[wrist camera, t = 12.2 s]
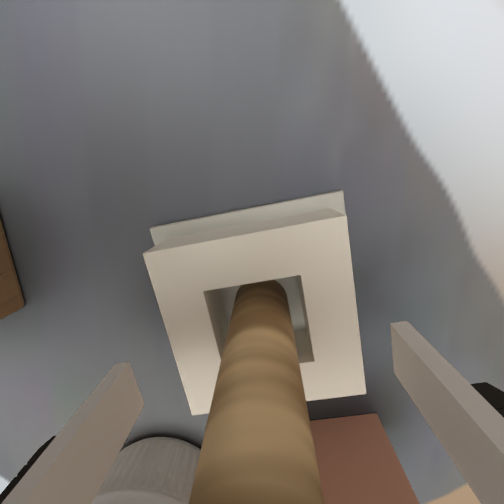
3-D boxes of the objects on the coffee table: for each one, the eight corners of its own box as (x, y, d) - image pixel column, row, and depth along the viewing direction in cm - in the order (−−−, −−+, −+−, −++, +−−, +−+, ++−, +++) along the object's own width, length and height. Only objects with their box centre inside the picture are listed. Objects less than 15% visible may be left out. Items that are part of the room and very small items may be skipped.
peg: (230, 281, 21) (167, 487, 7) (282, 272, 20) (318, 472, 7) (241, 327, 22) (204, 579, 8) (291, 319, 21) (336, 571, 8)
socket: (154, 226, 21) (121, 240, 16) (339, 190, 20) (363, 193, 15) (198, 378, 24) (182, 428, 20) (358, 357, 23) (383, 404, 18)
